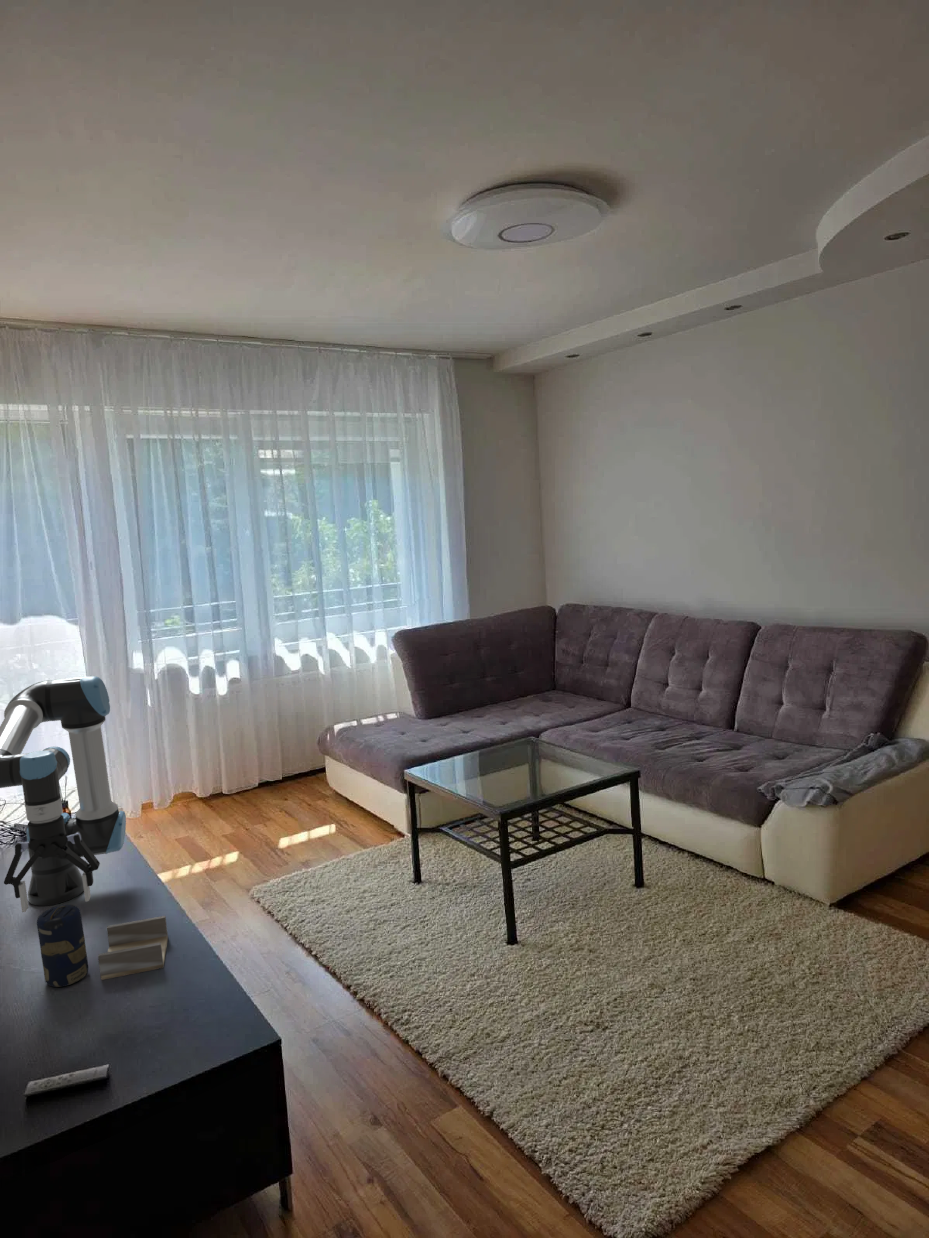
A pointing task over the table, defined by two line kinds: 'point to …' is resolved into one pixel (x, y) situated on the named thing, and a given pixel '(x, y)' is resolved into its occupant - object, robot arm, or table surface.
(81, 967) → the canister
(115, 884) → the table surface
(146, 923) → the keeper cradle
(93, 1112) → the table surface
